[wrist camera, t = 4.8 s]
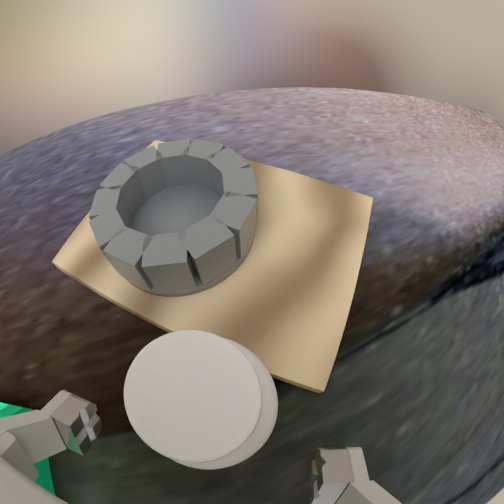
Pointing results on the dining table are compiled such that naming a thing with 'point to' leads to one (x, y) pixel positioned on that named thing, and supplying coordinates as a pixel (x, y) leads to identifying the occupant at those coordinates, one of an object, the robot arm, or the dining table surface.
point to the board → (261, 278)
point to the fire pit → (177, 216)
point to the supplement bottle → (200, 399)
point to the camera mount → (41, 466)
